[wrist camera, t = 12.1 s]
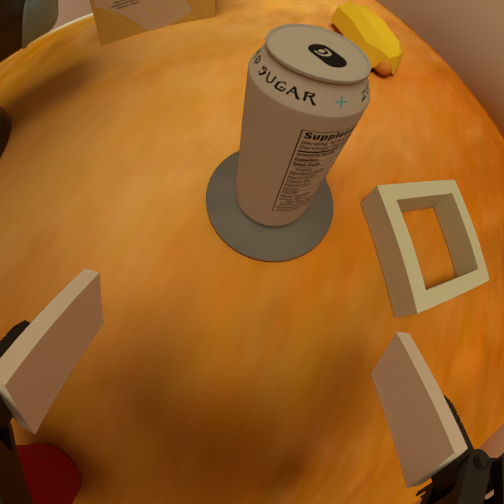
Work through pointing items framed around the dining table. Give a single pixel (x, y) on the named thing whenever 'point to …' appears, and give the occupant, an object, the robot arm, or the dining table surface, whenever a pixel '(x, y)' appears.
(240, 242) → the coaster
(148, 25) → the pasta box
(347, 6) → the yellow curved piece
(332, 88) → the energy drink can
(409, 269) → the frame
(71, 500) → the plastic cup
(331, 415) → the dining table surface
